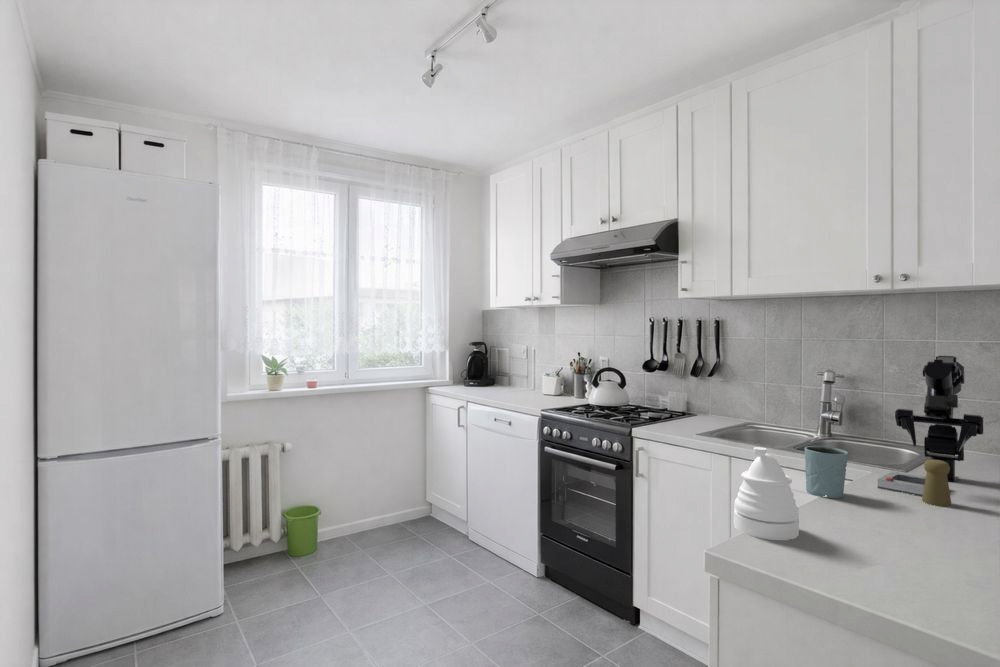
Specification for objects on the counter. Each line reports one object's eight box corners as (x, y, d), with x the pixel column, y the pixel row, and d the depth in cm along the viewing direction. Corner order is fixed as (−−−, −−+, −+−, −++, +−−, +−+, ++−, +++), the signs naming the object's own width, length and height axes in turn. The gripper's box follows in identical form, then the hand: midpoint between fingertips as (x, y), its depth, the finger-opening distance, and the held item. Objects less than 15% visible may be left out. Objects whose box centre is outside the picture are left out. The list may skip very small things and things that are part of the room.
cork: (957, 507, 135) (957, 463, 135) (929, 505, 136) (930, 462, 136) (942, 500, 141) (943, 458, 141) (916, 498, 142) (917, 457, 142)
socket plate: (892, 479, 161) (892, 469, 161) (943, 488, 152) (943, 477, 152) (877, 487, 152) (877, 476, 152) (930, 498, 143) (930, 486, 143)
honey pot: (769, 544, 110) (770, 456, 110) (721, 523, 122) (721, 444, 122) (812, 535, 116) (813, 451, 115) (762, 516, 127) (762, 440, 127)
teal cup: (804, 486, 153) (804, 444, 153) (846, 492, 148) (847, 448, 148) (803, 495, 144) (804, 450, 144) (848, 501, 139) (849, 455, 139)
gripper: (895, 380, 154) (890, 427, 147) (983, 385, 141) (982, 437, 134) (899, 402, 160) (894, 448, 153) (983, 408, 147) (982, 459, 140)
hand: (936, 447), depth 145 cm, fingers open, 9 cm apart
